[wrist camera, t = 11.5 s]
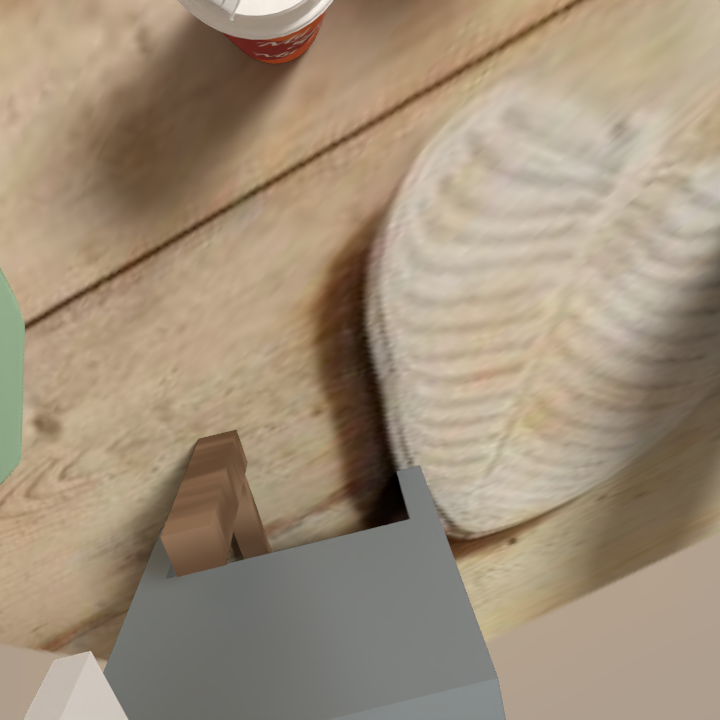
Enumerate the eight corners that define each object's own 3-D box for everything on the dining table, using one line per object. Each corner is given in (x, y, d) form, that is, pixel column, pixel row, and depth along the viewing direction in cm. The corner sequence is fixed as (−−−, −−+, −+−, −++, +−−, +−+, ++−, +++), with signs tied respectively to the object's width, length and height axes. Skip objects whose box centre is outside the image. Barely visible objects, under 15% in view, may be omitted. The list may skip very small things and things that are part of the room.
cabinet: (420, 465, 46) (498, 677, 27) (442, 569, 49) (523, 818, 31) (161, 528, 45) (57, 786, 27) (203, 627, 49) (138, 913, 30)
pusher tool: (180, 443, 43) (134, 543, 32) (254, 425, 43) (235, 518, 32) (247, 615, 49) (228, 750, 38) (312, 599, 49) (313, 729, 38)
